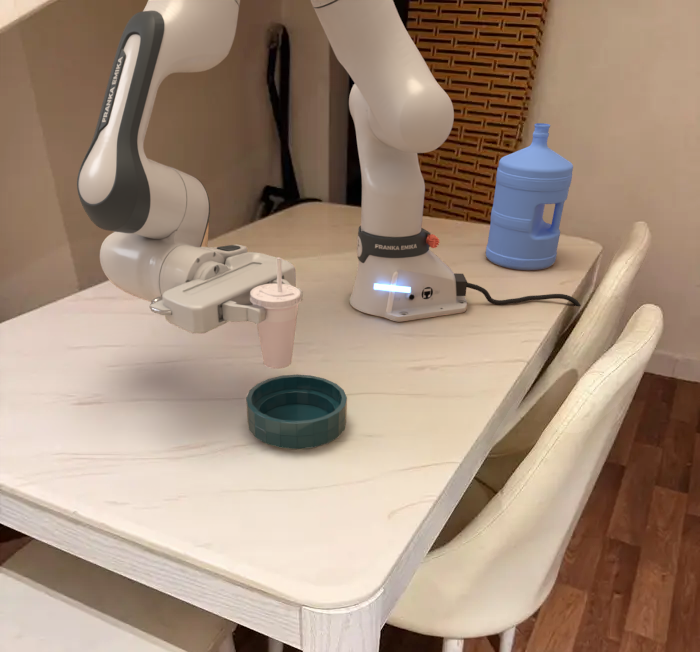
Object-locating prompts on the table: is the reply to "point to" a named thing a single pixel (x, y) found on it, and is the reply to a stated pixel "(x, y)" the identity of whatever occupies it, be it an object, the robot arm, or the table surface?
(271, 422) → the bowl
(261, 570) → the table surface
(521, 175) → the water jug
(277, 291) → the smoothie
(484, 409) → the table surface
